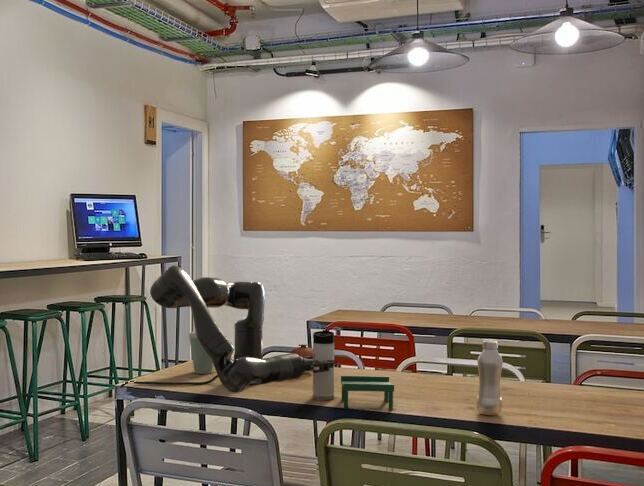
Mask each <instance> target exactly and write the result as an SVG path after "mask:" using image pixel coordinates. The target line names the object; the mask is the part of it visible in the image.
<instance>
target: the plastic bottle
mask: <svg viewBox="0 0 644 486" xmlns="http://www.w3.org/2000/svg"><path fill="white" fill-rule="evenodd" d="M482 348H483V350H482V351H481V353H480V354H479V355H478V357H477V371H478V390H477V391H478V393H477V397H476V403H475V407H476V411H477V412H478V413H479V414H482V415H486V416H496V415H500V413H501V412H502V409H503V401H502V394H501V375H502V370H503V365H504V361H503V357H502V355H501V354H500V353H499V351H498V349H499V347H498V341H497V340H491V339H490V340H487V339H486V340H483V341H482Z"/></svg>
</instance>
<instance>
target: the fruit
mask: <svg viewBox="0 0 644 486" xmlns="http://www.w3.org/2000/svg"><path fill="white" fill-rule="evenodd" d="M290 353H295V354H297V355H298V356H299V357H308V356H312V357H313V348H311V347H308V346H307V344H303V343H302V344H298V346H297V347H295V348H293V349H291V352H290Z"/></svg>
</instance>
